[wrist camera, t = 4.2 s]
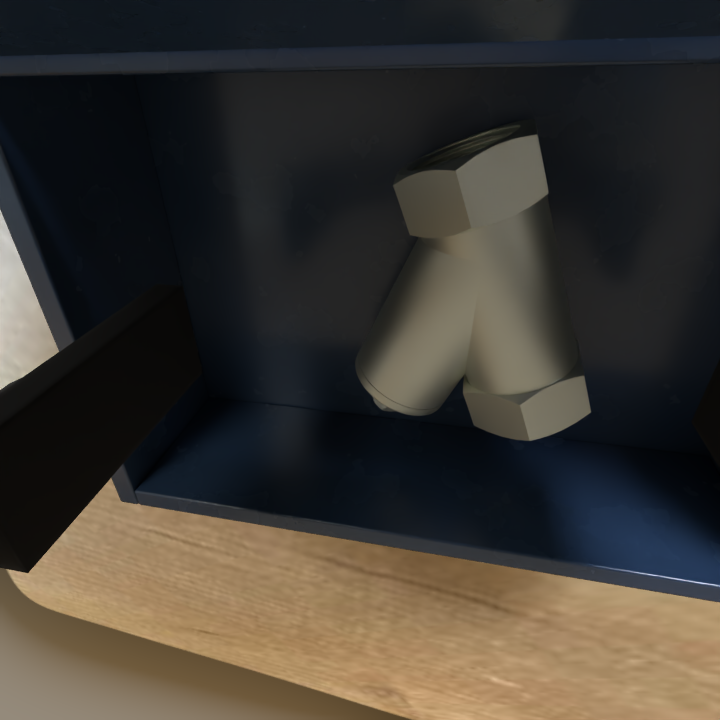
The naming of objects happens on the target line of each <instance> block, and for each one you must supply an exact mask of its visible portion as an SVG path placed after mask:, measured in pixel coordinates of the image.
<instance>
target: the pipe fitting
mask: <svg viewBox="0 0 720 720" xmlns="http://www.w3.org/2000/svg"><path fill="white" fill-rule="evenodd" d="M393 187H394V189H395V192H396V195H397V198H398V201H399V204H400V207H401V210H402V213H403V216H404V219H405V222H406V225H407V228H408V231H409V234H410V235H412V236H417V237H418V239H417V241H416V243H415V245H414V247H413V249H412V251H411V253H410V255H409V257H408V259H407V260H406V262H405V264H404V266H403V268H402V270H401V272H400V274H399V276H398V278H397V280H396V282H395V283H394V285H393V287H392V289H391V291H390V293H389V295H388V297H387V299H386V301H385V303H384V305H383V306H382V308H381V310H380V312H379V314H378V316H377V318H376V320H375V322H374V324H373V326H372V328H371V330H370V331H369V333H368V335H367V337H366V339H365V341H364V343H363V345H362V347H361V349H360V351H359V353H358V354H357V357H356V360H355V369H356V373H357V376H358V378H359V380H360V382H361V384H362V385H363V387H364V388H365V389H366V390H367V391H368V393H369V394H370V395H371V396H372V397H373V398H374V399H373V401H374V402H375V404H376V405H377V406H378V407H379V408H380V409H382V410H384V411H396V412H399V413H403V414H406V415H412V416H424V415H429V414H431V413H434V412H435V411H437V410H438V409H439V408H440V407H441V405H442V404H443V403H444V401H445V400H446V399H447V397H448V396H449V395H450V393H451V392H452V390H453V389H454V388H455V386H456V385H457V384H458V382H459V381H460V380H461V378H462V377H463V376H464V381H463V395H464V398H465V401H466V404H467V406H468V409H469V412H470V415H471V418H472V421H473V424H474V426H476V427H478V428H481V429H483V430H485V431H487V432H490V433H493V434H496V435H499V436H501V437H506V438H510V439H515V440H524V441H532V440H536V439H540V438H543V437H547V436H549V435H552V434H554V433H557V432H559V431H562V430H564V429H565V428H567V427H569V426H571V425H573V424H575V423H576V422H578V421H579V420H581V419H582V418H584V417H585V416H586V415H588V414H589V413H591V409H590V404H589V398H588V393H587V387H586V382H585V376H584V371H583V366H582V361H581V356H580V350H579V345H578V340H577V339H575V335H574V330H573V324H572V319H571V314H570V309H569V304H568V299H567V294H566V289H565V283H564V278H563V273H562V268H561V263H560V258H559V253H558V248H557V242H556V237H555V232H554V227H553V222H552V217H551V212H550V207H549V201H548V196H547V194H548V193H549V192H548V186H547V180H546V174H545V169H544V164H543V159H542V153H541V148H540V143H539V138H538V133H537V128H536V122H535V120H522V121H517V122H513V123H509V124H505V125H502V126H498V127H495V128H492V129H489V130H486V131H483V132H480V133H477V134H474V135H472V136H469V137H466V138H464V139H461V140H459V141H456V142H454V143H451V144H449V145H446V146H444V147H442V148H439V149H437V150H435V151H433V152H431V153H429V154H426V155H424V156H422V157H420V158H418V159H417V160H415V161H413V162H411V163H409V164H408V165H406V166H405V167H403V168H402V169H401V170H400V171H399V172H398V173H397V175H396V178H395V181H394V184H393Z"/></svg>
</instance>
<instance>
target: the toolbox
mask: <svg viewBox="0 0 720 720" xmlns="http://www.w3.org/2000/svg"><path fill="white" fill-rule="evenodd" d="M522 120H535V122H536V128H537V133H538V138H539V143H540V148H541V153H542V159H543V164H544V169H545V174H546V180H547V186H548V192H549V193H548V194H547V196H548V201H549V207H550V212H551V217H552V222H553V227H554V232H555V237H556V242H557V248H558V253H559V258H560V263H561V268H562V273H563V278H564V283H565V289H566V294H567V299H568V304H569V309H570V314H571V319H572V324H573V330H574V335H575V339H577V340H578V345H579V350H580V356H581V361H582V366H583V371H584V376H585V382H586V387H587V393H588V398H589V404H590V409H591V413H589V414H588V415H586V416H585V417H584V418H582V419H581V420H579V421H578V422H576V423H575V424H573V425H571V426H569V427H567V428H565V429H564V430H562V431H559V432H557V433H554V434H552V435H549V436H547V437H543V438H540V439H536V440H532V441H524V440H515V439H510V438H506V437H501V436H499V435H496V434H493V433H490V432H487V431H485V430H483V429H481V428H478V427H476V426H474V424H473V421H472V418H471V415H470V412H469V409H468V406H467V404H466V401H465V398H464V395H463V381H464V376H463V377H462V378H461V380H460V381H459V382H458V384H457V385H456V386H455V388H454V389H453V390H452V392H451V393H450V395H449V396H448V397H447V399H446V400H445V401H444V403H443V404H442V405H441V407H440V408H439V409H438V410H437V411H435V412H434V413H431V414H429V415H424V416H412V415H406V414H403V413H399V412H396V411H384V410H382V409H380V408H379V407H378V406H377V405H376V404H375V402H374V401H373V399H374V398H373V397H372V396H371V395H370V394H369V393H368V391H367V390H366V389H365V388H364V387H363V385H362V384H361V382H360V380H359V378H358V376H357V373H356V369H355V360H356V357H357V354H358V353H359V351H360V349H361V347H362V345H363V343H364V341H365V339H366V337H367V335H368V333H369V331H370V330H371V328H372V326H373V324H374V322H375V320H376V318H377V316H378V314H379V312H380V310H381V308H382V306H383V305H384V303H385V301H386V299H387V297H388V295H389V293H390V291H391V289H392V287H393V285H394V283H395V282H396V280H397V278H398V276H399V274H400V272H401V270H402V268H403V266H404V264H405V262H406V260H407V259H408V257H409V255H410V253H411V251H412V249H413V247H414V245H415V243H416V241H417V239H418V237H417V236H412V235H410V234H409V231H408V228H407V225H406V222H405V219H404V216H403V213H402V210H401V207H400V204H399V201H398V198H397V195H396V192H395V189H394V187H393V184H394V181H395V178H396V175H397V173H398V172H399V171H400V170H401V169H402V168H403V167H405V166H406V165H408V164H409V163H411V162H413V161H415V160H417V159H418V158H420V157H422V156H424V155H426V154H429V153H431V152H433V151H435V150H437V149H439V148H442V147H444V146H446V145H449V144H451V143H454V142H456V141H459V140H461V139H464V138H466V137H469V136H472V135H474V134H477V133H480V132H483V131H486V130H489V129H492V128H495V127H498V126H502V125H505V124H509V123H513V122H517V121H522ZM0 210H1V212H2V214H3V217H4V219H5V222H6V224H7V226H8V229H9V231H10V234H11V236H12V239H13V241H14V243H15V246H16V248H17V251H18V253H19V255H20V258H21V260H22V263H23V265H24V268H25V270H26V272H27V275H28V277H29V280H30V282H31V284H32V287H33V289H34V292H35V294H36V297H37V299H38V301H39V304H40V306H41V309H42V311H43V313H44V316H45V318H46V321H47V323H48V326H49V328H50V330H51V333H52V335H53V338H54V340H55V342H56V345H57V347H58V350H59V352H60V351H61V350H63V349H64V348H66V347H67V346H68V345H70V344H71V343H73V342H74V341H76V340H77V339H78V338H80V337H81V336H83V335H84V334H86V333H87V332H88V331H90V330H91V329H93V328H94V327H96V326H97V325H99V324H100V323H101V322H103V321H104V320H106V319H107V318H109V317H110V316H111V315H113V314H114V313H116V312H117V311H119V310H120V309H121V308H123V307H124V306H126V305H127V304H129V303H130V302H131V301H133V300H134V299H136V298H137V297H139V296H140V295H141V294H143V293H144V292H146V291H147V290H149V289H150V288H151V287H153V286H154V285H156V284H164V285H179V286H183V290H184V294H185V298H186V303H187V307H188V311H189V316H190V320H191V324H192V329H193V333H194V337H195V342H196V346H197V350H198V355H199V359H200V363H201V368H202V372H203V373H202V374H201V375H200V376H199V377H198V378H197V380H196V381H195V382H194V383H193V384H192V385H191V386H190V388H189V389H188V390H187V391H186V392H185V393H184V394H183V396H182V397H181V398H180V399H179V400H178V401H177V403H176V404H175V405H174V406H173V407H172V408H171V409H170V411H169V412H168V413H167V414H166V415H165V416H164V417H163V419H162V420H161V421H160V422H159V423H158V424H157V425H156V427H155V428H154V429H153V430H152V431H151V432H150V434H149V435H148V436H147V437H146V438H145V439H144V440H143V442H142V443H141V444H140V445H139V446H138V447H137V448H136V450H135V451H134V452H133V453H132V454H131V455H130V457H129V458H128V459H127V460H126V461H125V462H124V463H123V465H122V466H121V467H120V468H119V469H118V470H117V471H116V473H115V474H114V475H113V476H112V477H111V478H112V480H113V483H114V485H115V488H116V490H117V492H118V495H119V497H120V500H121V501H122V502H127V503H133V504H138V503H139V504H141V505H146V506H151V507H157V508H163V509H169V510H175V511H181V512H187V513H193V514H199V515H205V516H211V517H217V518H223V519H228V520H234V521H240V522H246V523H252V524H258V525H264V526H270V527H276V528H282V529H288V530H294V531H300V532H306V533H311V534H317V535H323V536H329V537H335V538H341V539H347V540H353V541H359V542H365V543H371V544H377V545H383V546H388V547H394V548H400V549H406V550H412V551H418V552H424V553H430V554H436V555H442V556H448V557H454V558H460V559H465V560H471V561H477V562H483V563H489V564H495V565H501V566H507V567H513V568H519V569H525V570H531V571H537V572H543V573H548V574H554V575H560V576H566V577H572V578H578V579H584V580H590V581H596V582H602V583H608V584H614V585H620V586H625V587H631V588H637V589H643V590H649V591H655V592H661V593H667V594H673V595H679V596H685V597H691V598H697V599H702V600H708V601H714V602H720V468H719V466H718V465H717V463H716V461H715V460H714V458H713V456H712V455H711V453H710V452H709V450H708V448H707V447H706V445H705V443H704V442H703V440H702V439H701V437H700V435H699V434H698V432H697V431H696V429H695V427H694V426H693V424H692V422H691V421H692V419H693V417H694V415H695V412H696V410H697V408H698V406H699V403H700V401H701V399H702V397H703V395H704V392H705V390H706V388H707V386H708V384H709V381H710V379H711V377H712V375H713V373H714V370H715V368H716V366H717V364H718V361H719V359H720V36H697V37H662V38H627V39H591V40H556V41H520V42H485V43H450V44H414V45H379V46H343V47H308V48H273V49H237V50H202V51H166V52H131V53H96V54H60V55H25V56H0Z"/></svg>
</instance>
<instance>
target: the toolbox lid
mask: <svg viewBox="0 0 720 720" xmlns="http://www.w3.org/2000/svg"><path fill="white" fill-rule="evenodd" d="M697 36H720V0H0V56H25V55H60V54H96V53H131V52H166V51H202V50H237V49H273V48H308V47H343V46H379V45H414V44H450V43H485V42H520V41H556V40H591V39H627V38H662V37H697Z"/></svg>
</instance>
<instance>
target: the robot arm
mask: <svg viewBox="0 0 720 720" xmlns="http://www.w3.org/2000/svg"><path fill="white" fill-rule="evenodd" d="M202 373H203V372H202V368H201V363H200V359H199V355H198V350H197V346H196V342H195V337H194V333H193V329H192V324H191V320H190V316H189V311H188V307H187V303H186V298H185V294H184V290H183V286H179V285H164V284H156V285H154V286H153V287H151V288H150V289H149V290H147V291H146V292H144V293H143V294H141V295H140V296H139V297H137V298H136V299H134V300H133V301H131V302H130V303H129V304H127V305H126V306H124V307H123V308H121V309H120V310H119V311H117V312H116V313H114V314H113V315H111V316H110V317H109V318H107V319H106V320H104V321H103V322H101V323H100V324H99V325H97V326H96V327H94V328H93V329H91V330H90V331H88V332H87V333H86V334H84V335H83V336H81V337H80V338H78V339H77V340H76V341H74V342H73V343H71V344H70V345H68V346H67V347H66V348H64V349H63V350H61V351H60V352H58V353H57V354H56V355H54V356H53V357H51V358H50V359H48V360H47V361H46V362H44V363H43V364H41V365H40V366H38V367H37V368H36V369H34V370H33V371H31V372H30V373H28V374H27V375H26V376H24V377H23V378H21V379H19V380H16V381H14V382H12V383H10V384H8V385H7V386H5V387H4V388H3V389H1V390H0V568H5V569H10V570H15V571H20V572H25V573H29V571H30V570H31V569H32V568H33V567H34V566H35V565H36V563H37V562H38V561H39V560H40V559H41V558H42V556H43V555H44V554H45V553H46V552H47V551H48V550H49V548H50V547H51V546H52V545H53V544H54V543H55V542H56V540H57V539H58V538H59V537H60V536H61V535H62V534H63V532H64V531H65V530H66V529H67V528H68V527H69V525H70V524H71V523H72V522H73V521H74V520H75V519H76V517H77V516H78V515H79V514H80V513H81V512H82V511H83V509H84V508H85V507H86V506H87V505H88V504H89V502H90V501H91V500H92V499H93V498H94V497H95V496H96V494H97V493H98V492H99V491H100V490H101V489H102V488H103V486H104V485H105V484H106V483H107V482H108V481H109V479H110V478H111V477H112V476H113V475H114V474H115V473H116V471H117V470H118V469H119V468H120V467H121V466H122V465H123V463H124V462H125V461H126V460H127V459H128V458H129V457H130V455H131V454H132V453H133V452H134V451H135V450H136V448H137V447H138V446H139V445H140V444H141V443H142V442H143V440H144V439H145V438H146V437H147V436H148V435H149V434H150V432H151V431H152V430H153V429H154V428H155V427H156V425H157V424H158V423H159V422H160V421H161V420H162V419H163V417H164V416H165V415H166V414H167V413H168V412H169V411H170V409H171V408H172V407H173V406H174V405H175V404H176V403H177V401H178V400H179V399H180V398H181V397H182V396H183V394H184V393H185V392H186V391H187V390H188V389H189V388H190V386H191V385H192V384H193V383H194V382H195V381H196V380H197V378H198V377H199V376H200V375H201V374H202ZM691 422H692V424H693V426H694V427H695V429H696V431H697V432H698V434H699V435H700V437H701V439H702V440H703V442H704V443H705V445H706V447H707V448H708V450H709V452H710V453H711V455H712V456H713V458H714V460H715V461H716V463H717V465H718V466H719V468H720V359H719V361H718V364H717V366H716V368H715V370H714V373H713V375H712V377H711V379H710V381H709V384H708V386H707V388H706V390H705V392H704V395H703V397H702V399H701V401H700V403H699V406H698V408H697V410H696V412H695V415H694V417H693V419H692V421H691Z"/></svg>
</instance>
